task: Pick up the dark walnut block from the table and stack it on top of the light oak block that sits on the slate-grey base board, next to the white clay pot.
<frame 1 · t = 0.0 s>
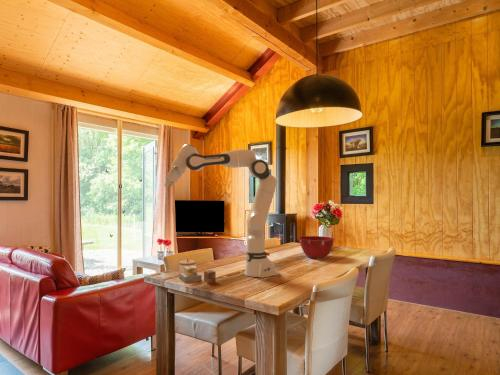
hand: (167, 186, 202), 54 cm above the table, tool tilted 30°, fingers open, 8 cm apart
oak block: (190, 274, 189), point 3 cm above the table, touching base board
lidded jar: (187, 274, 201), on the table
walnut block: (209, 281, 184), on the table
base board: (190, 279, 189), on the table
mixing bowl: (316, 257, 261), on the table
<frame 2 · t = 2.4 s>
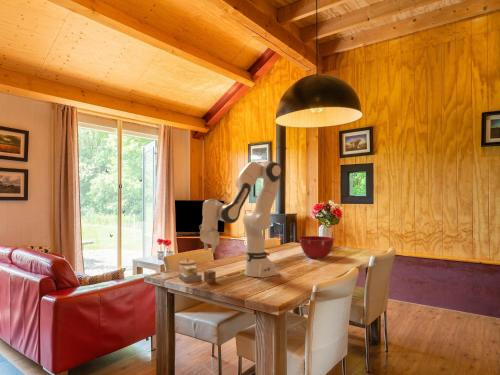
hand: (209, 251, 185), 17 cm above the table, tool pointing down, fingers open, 8 cm apart
nothing on the table moved.
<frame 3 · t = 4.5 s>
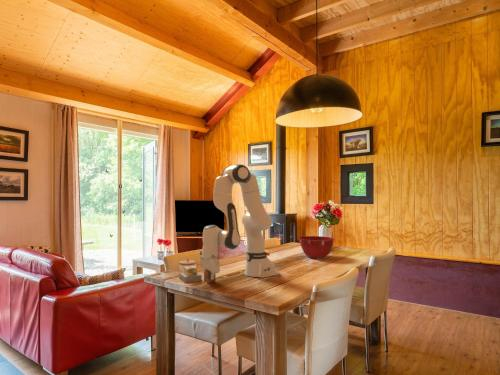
hand: (209, 277, 184), 2 cm above the table, tool pointing down, fingers closed on walnut block, 5 cm apart
walnut block: (209, 281, 184), on the table, touching gripper
everything else where it was.
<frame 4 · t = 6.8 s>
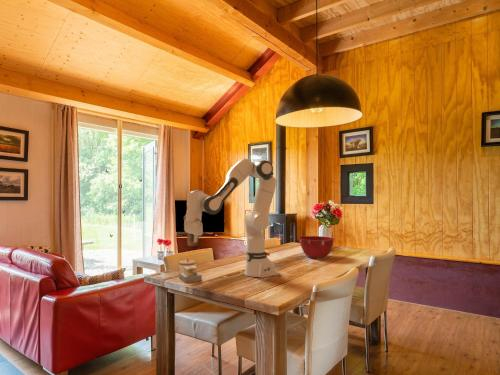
hand: (192, 241, 188), 22 cm above the table, tool pointing down, fingers closed on walnut block, 5 cm apart
walnut block: (192, 245, 188), point 20 cm above the table, touching gripper
everything else where it was.
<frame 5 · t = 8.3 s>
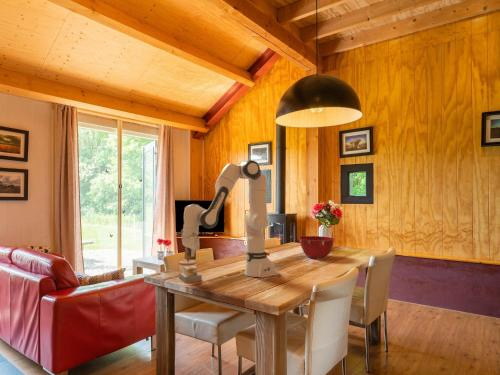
hand: (190, 255, 189), 14 cm above the table, tool pointing down, fingers closed on walnut block, 5 cm apart
walnut block: (190, 259, 189), point 12 cm above the table, touching gripper
everything else where it was.
when the fingers open (11 cm above the table, at t = 9.4 s): walnut block drops 1 cm, resting on oak block.
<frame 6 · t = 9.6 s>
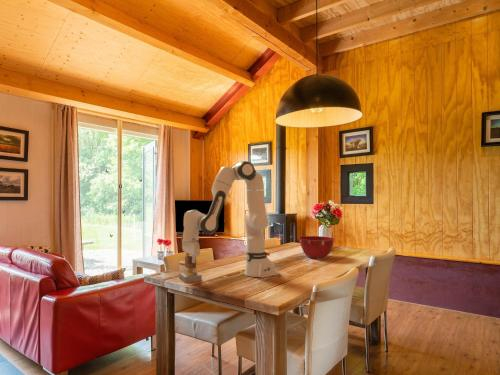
hand: (190, 261, 189), 11 cm above the table, tool pointing down, fingers open, 7 cm apart
oak block: (190, 274, 189), point 3 cm above the table, touching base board, walnut block
walnut block: (190, 267, 189), point 7 cm above the table, touching oak block
everything else where it was.
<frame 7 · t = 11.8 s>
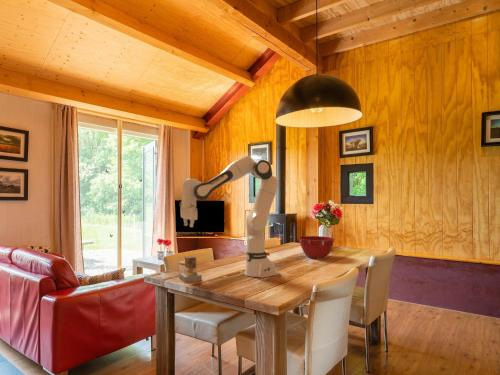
hand: (188, 226, 201), 30 cm above the table, tool pointing down, fingers open, 8 cm apart
nothing on the table moved.
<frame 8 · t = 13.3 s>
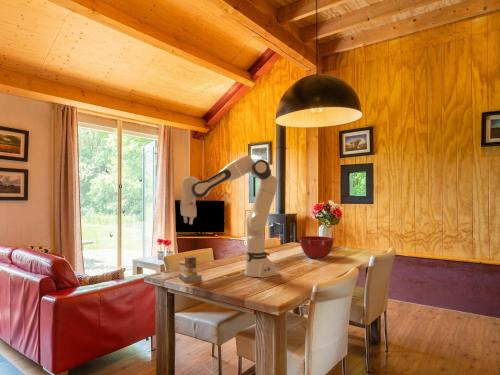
hand: (188, 223, 205), 31 cm above the table, tool pointing down, fingers open, 8 cm apart
nothing on the table moved.
at the end: walnut block 0.0 cm off-centre on the oak block, point 4.0 cm above the oak block's base; walnut block tilted 0°; the gripper is holding nothing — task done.
